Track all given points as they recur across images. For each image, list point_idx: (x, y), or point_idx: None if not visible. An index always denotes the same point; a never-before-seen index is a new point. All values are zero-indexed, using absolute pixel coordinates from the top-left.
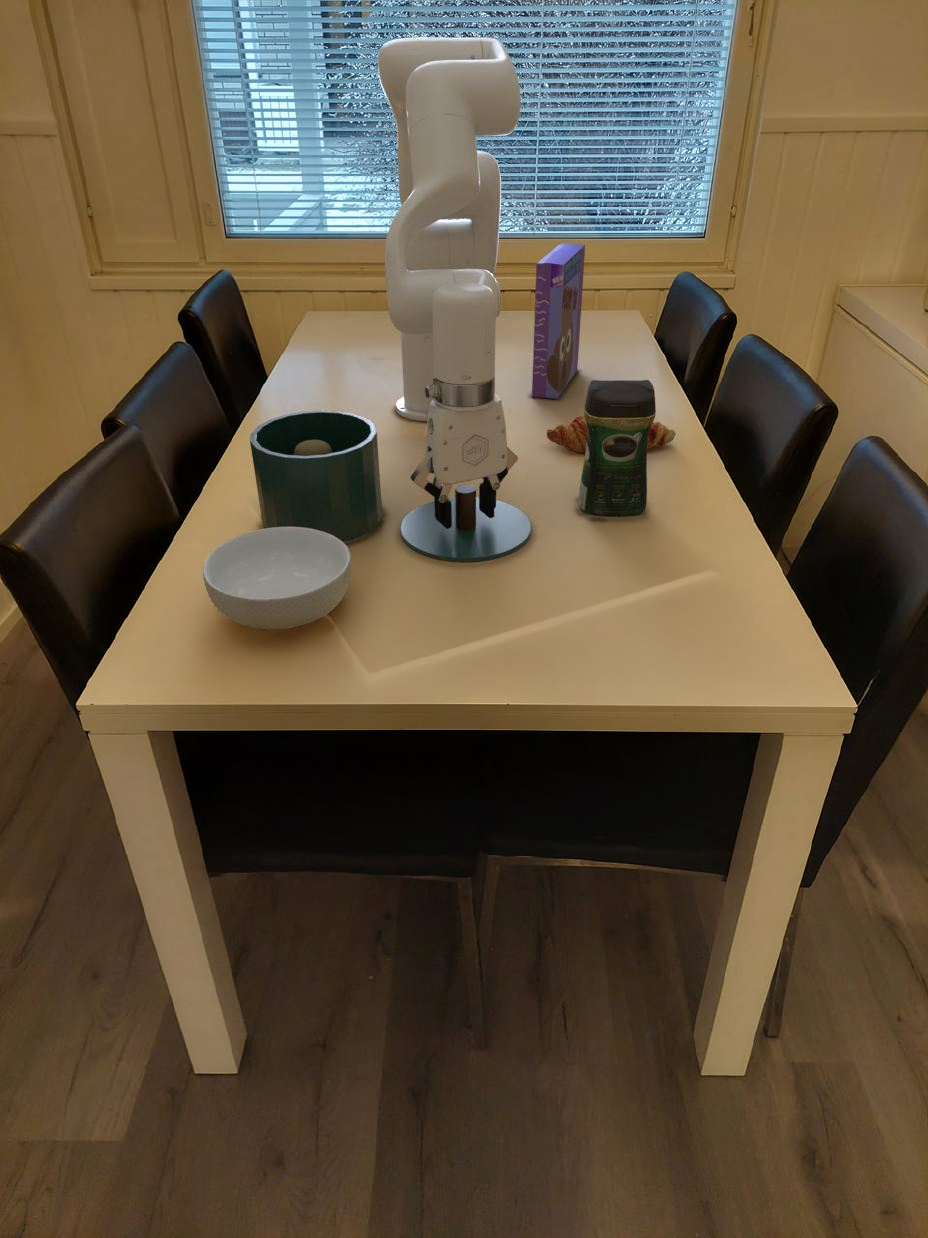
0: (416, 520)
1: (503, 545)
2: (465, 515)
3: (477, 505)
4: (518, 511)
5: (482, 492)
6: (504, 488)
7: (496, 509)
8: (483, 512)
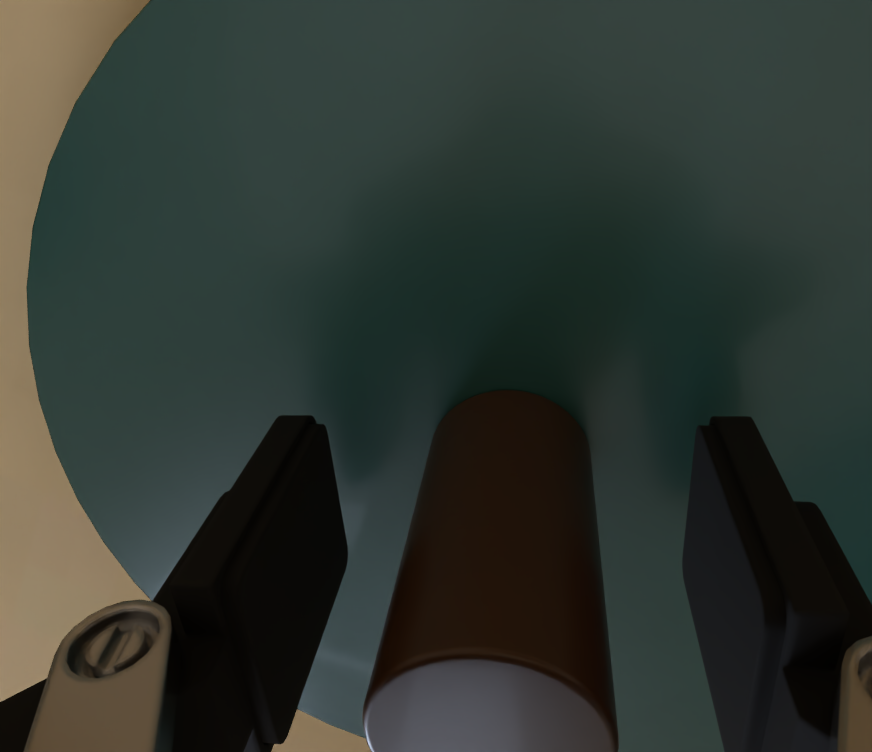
0: None
1: (355, 2)
2: (546, 475)
3: None
4: (79, 461)
5: (286, 656)
6: None
7: None
8: (338, 504)
